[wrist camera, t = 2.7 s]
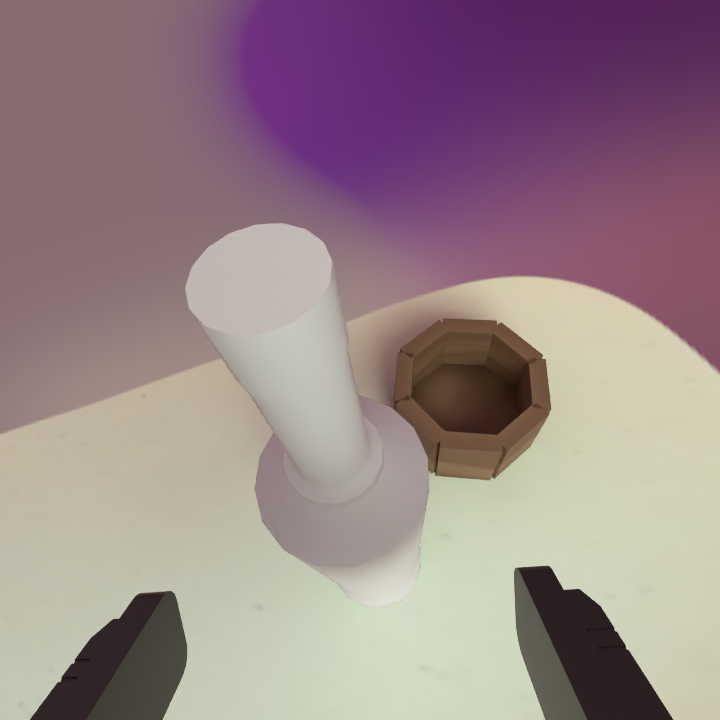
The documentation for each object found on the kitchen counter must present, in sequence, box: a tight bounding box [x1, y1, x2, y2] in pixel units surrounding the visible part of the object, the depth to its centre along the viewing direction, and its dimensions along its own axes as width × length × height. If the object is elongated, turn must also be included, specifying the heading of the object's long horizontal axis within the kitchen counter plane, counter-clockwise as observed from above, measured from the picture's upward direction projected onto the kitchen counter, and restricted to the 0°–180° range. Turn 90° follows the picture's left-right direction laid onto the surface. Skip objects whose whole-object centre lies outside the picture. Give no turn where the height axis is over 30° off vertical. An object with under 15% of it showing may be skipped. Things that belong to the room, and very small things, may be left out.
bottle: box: [185, 223, 429, 607], centre depth 17 cm, size 5×5×25 cm
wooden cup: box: [394, 319, 551, 480], centre depth 30 cm, size 9×9×5 cm
